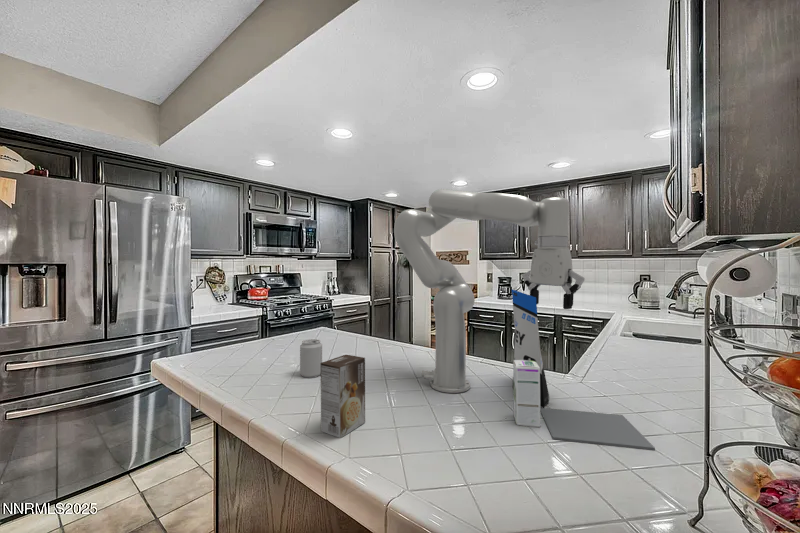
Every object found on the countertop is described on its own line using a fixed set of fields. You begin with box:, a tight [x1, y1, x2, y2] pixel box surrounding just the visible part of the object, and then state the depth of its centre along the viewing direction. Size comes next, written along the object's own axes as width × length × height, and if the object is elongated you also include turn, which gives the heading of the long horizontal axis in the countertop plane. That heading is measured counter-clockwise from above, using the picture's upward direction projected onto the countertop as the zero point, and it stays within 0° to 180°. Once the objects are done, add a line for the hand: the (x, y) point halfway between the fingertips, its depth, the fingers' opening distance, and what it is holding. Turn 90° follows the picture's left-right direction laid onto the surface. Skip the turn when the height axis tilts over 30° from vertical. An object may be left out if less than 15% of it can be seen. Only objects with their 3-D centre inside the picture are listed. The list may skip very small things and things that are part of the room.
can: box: [299, 338, 323, 379], centre depth 118 cm, size 8×8×12 cm
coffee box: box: [320, 354, 366, 439], centre depth 81 cm, size 9×6×16 cm
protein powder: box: [511, 289, 550, 408], centre depth 103 cm, size 10×24×30 cm, turn 176°
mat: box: [540, 407, 656, 451], centre depth 81 cm, size 20×16×1 cm
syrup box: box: [512, 359, 541, 428], centre depth 84 cm, size 6×6×14 cm
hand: (550, 306), depth 93 cm, fingers open, 9 cm apart
